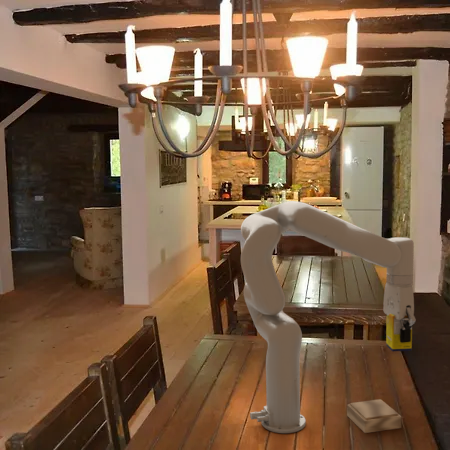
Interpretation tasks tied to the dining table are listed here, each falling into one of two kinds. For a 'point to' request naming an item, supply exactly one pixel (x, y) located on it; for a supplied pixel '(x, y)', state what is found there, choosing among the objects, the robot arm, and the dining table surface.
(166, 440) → the dining table surface
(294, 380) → the robot arm
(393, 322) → the supplement box
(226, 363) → the dining table surface
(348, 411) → the pedestal
